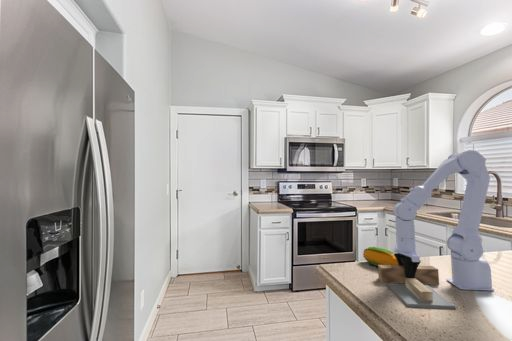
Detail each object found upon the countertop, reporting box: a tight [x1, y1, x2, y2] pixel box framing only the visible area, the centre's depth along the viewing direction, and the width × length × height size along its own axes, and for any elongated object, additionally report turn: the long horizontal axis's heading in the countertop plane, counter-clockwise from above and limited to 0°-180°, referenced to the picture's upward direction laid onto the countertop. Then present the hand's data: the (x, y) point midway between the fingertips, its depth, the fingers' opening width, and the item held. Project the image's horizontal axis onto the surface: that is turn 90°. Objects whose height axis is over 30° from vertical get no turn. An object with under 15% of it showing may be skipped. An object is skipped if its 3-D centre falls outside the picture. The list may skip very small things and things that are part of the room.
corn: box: [362, 246, 399, 267], centre depth 101 cm, size 7×8×20 cm
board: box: [388, 283, 457, 310], centre depth 75 cm, size 12×14×1 cm
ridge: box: [405, 278, 433, 302], centre depth 75 cm, size 3×10×4 cm, turn 171°
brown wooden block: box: [377, 265, 440, 285], centre depth 87 cm, size 18×4×5 cm, turn 82°
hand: (407, 277), depth 87 cm, fingers closed on brown wooden block, 4 cm apart
